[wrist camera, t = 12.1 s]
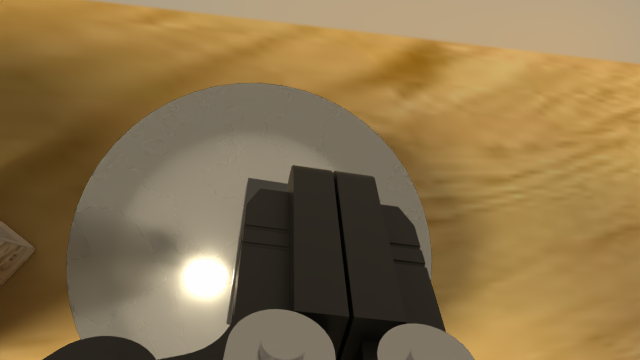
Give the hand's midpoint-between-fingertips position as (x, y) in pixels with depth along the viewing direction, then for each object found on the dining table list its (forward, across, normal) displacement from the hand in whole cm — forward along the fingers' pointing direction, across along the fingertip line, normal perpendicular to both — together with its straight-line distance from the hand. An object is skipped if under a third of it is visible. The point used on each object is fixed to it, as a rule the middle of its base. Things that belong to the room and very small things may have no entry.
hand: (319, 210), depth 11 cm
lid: (+11, 0, +11) cm, 16 cm away
